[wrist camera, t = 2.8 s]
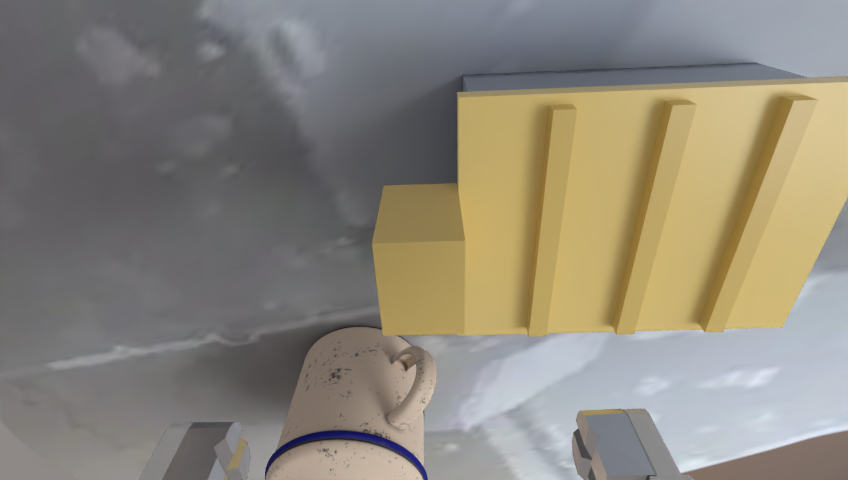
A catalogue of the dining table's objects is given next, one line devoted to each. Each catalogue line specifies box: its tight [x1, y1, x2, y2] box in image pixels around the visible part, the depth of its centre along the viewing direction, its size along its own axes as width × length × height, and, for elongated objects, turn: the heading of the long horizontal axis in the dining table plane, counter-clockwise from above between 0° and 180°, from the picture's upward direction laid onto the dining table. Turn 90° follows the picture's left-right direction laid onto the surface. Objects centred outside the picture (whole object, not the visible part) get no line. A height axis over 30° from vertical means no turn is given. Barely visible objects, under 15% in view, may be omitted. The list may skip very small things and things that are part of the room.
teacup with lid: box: [265, 327, 437, 480], centre depth 27 cm, size 12×9×12 cm
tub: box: [462, 63, 807, 92], centre depth 21 cm, size 14×10×6 cm
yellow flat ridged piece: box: [372, 76, 848, 337], centre depth 17 cm, size 18×11×4 cm, turn 92°
